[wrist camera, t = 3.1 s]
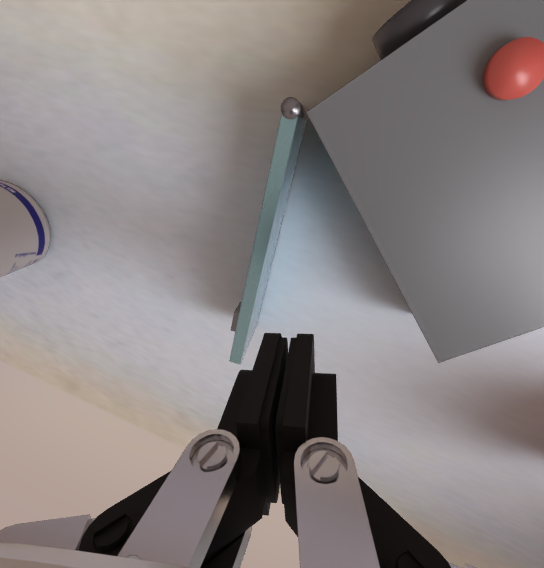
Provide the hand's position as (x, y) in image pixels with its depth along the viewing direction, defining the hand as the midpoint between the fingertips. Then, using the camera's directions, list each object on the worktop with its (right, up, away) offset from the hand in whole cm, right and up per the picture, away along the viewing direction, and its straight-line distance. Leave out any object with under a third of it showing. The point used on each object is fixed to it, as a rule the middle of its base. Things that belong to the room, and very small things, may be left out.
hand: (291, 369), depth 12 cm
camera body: (+8, +8, +5) cm, 12 cm away
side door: (-1, +6, +7) cm, 9 cm away
